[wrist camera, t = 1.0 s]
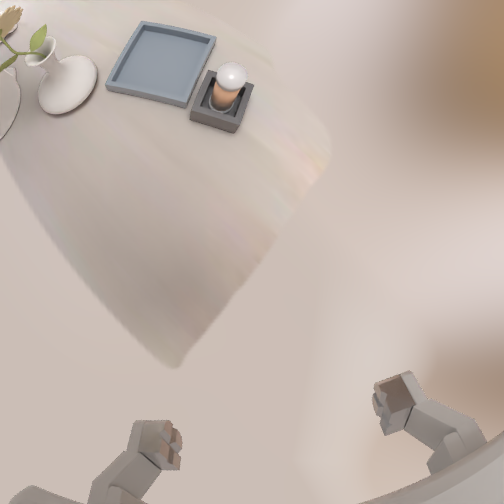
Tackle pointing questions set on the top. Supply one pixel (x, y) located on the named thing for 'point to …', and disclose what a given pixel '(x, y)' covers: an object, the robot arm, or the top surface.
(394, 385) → the robot arm
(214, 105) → the tan bottle
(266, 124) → the top surface
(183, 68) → the parts tray
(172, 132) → the top surface
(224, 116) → the socket block
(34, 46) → the flower in vase
